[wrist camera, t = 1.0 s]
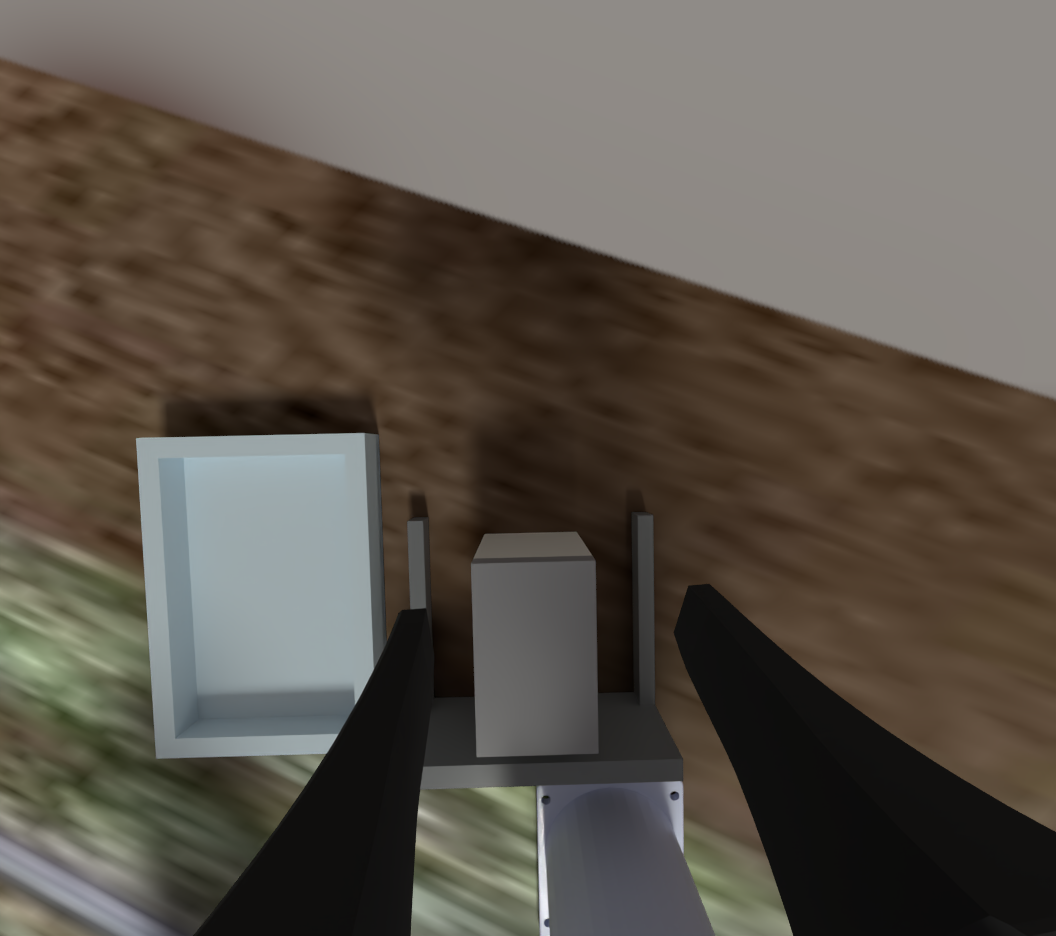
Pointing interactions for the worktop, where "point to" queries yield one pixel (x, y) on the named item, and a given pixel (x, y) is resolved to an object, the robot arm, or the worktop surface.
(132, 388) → the worktop surface
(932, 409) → the worktop surface
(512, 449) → the worktop surface
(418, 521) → the bay
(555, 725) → the block
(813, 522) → the worktop surface
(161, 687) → the tray
